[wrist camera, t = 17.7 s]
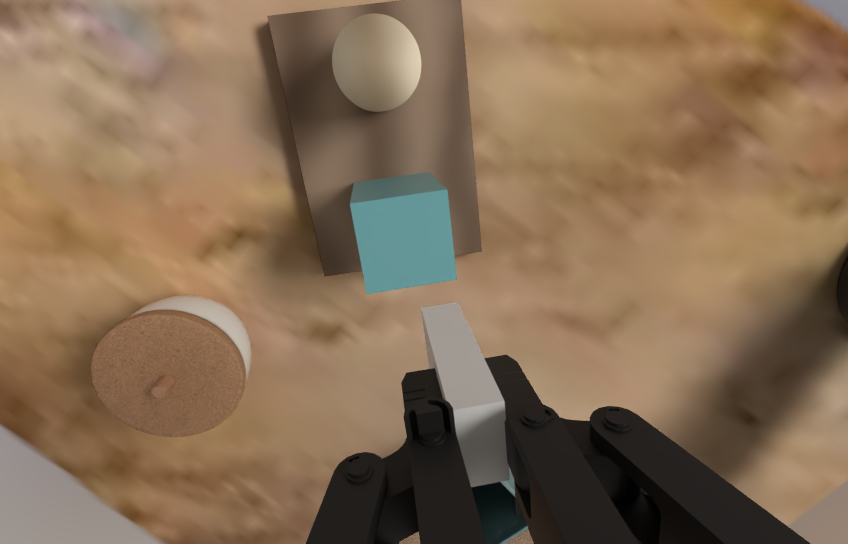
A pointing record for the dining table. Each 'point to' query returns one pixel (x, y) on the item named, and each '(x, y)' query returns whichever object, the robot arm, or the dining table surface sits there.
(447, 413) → the robot arm
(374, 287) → the teal rectangular block
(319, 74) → the base board
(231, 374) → the lidded jar
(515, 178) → the dining table surface
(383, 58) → the cream smooth rounded part
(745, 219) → the dining table surface
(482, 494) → the flower pot
